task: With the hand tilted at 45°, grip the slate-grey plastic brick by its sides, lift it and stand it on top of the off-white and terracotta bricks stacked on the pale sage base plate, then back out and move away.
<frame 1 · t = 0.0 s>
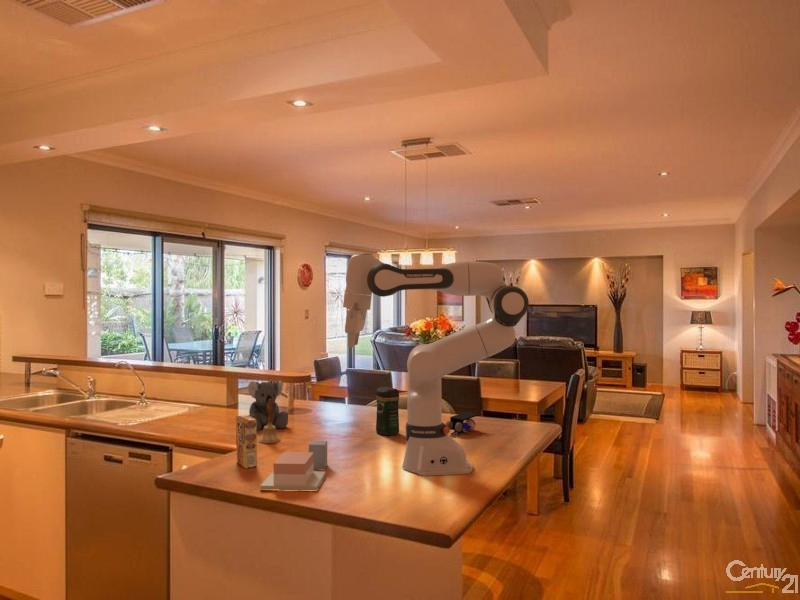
hand: (352, 345, 185), 39 cm above the counter, tool pointing down, fingers open, 8 cm apart
slate brick: (318, 467, 183), on the counter
candy box: (246, 465, 186), on the counter
koala plush: (264, 426, 243), on the counter
hand bell: (269, 441, 217), on the counter
coffee jar: (387, 433, 229), on the counter
figurine character: (462, 433, 231), on the counter
brick tower base: (294, 483, 167), on the counter
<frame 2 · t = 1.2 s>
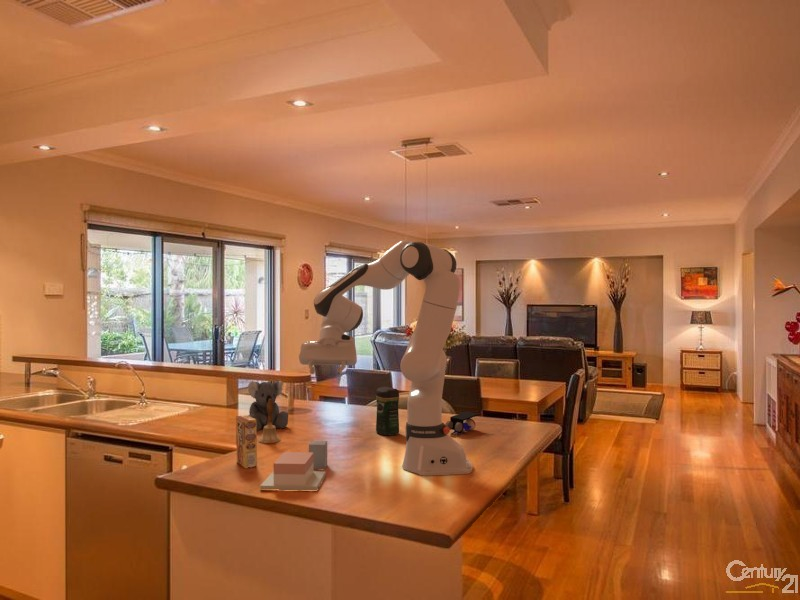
hand: (325, 373, 197), 29 cm above the counter, tool tilted 45°, fingers open, 8 cm apart
nothing on the counter moved.
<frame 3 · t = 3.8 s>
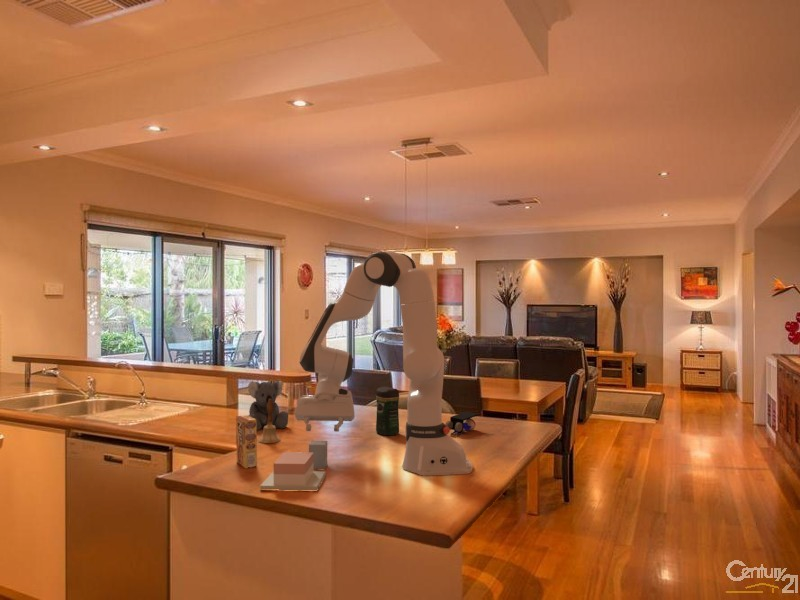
hand: (322, 430, 190), 10 cm above the counter, tool tilted 45°, fingers open, 8 cm apart
nothing on the counter moved.
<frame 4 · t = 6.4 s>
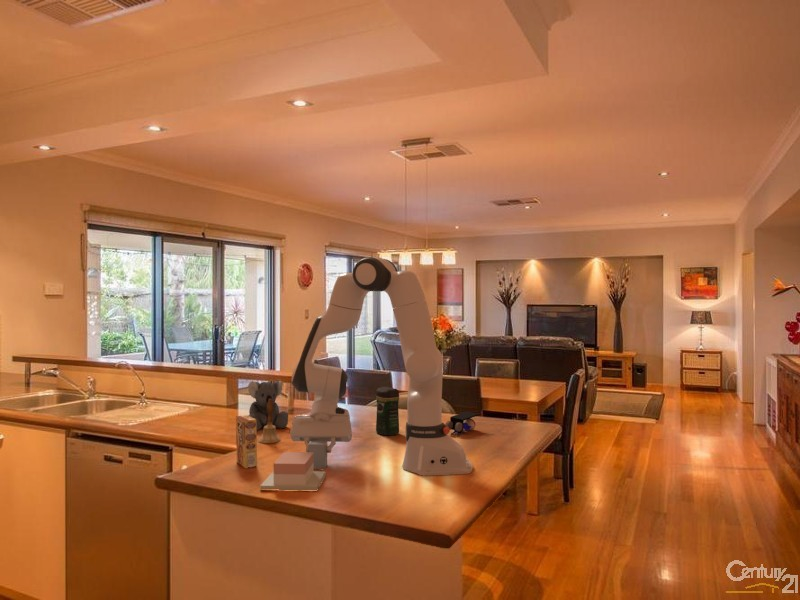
hand: (318, 451, 184), 5 cm above the counter, tool tilted 45°, fingers closed on slate brick, 5 cm apart
slate brick: (318, 467, 183), on the counter, touching gripper
everything else where it was.
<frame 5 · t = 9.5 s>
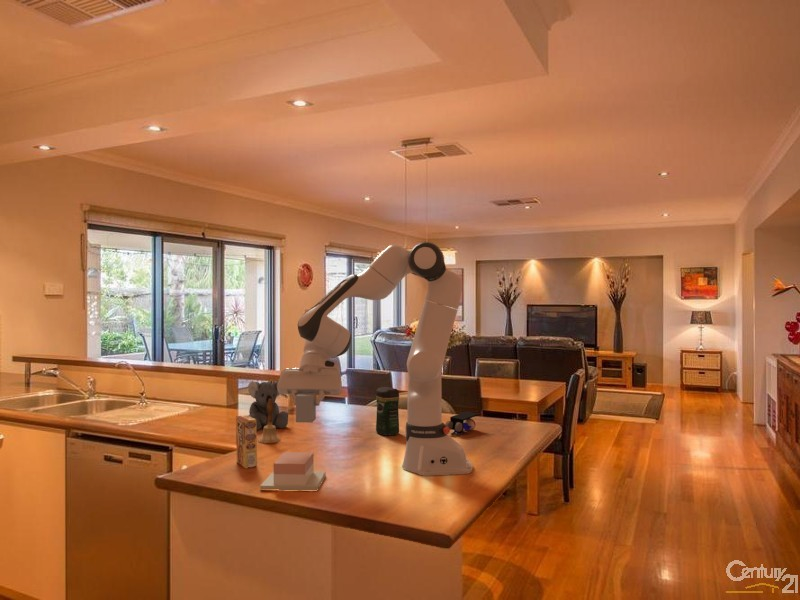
hand: (306, 404, 176), 21 cm above the counter, tool tilted 45°, fingers closed on slate brick, 5 cm apart
slate brick: (305, 420, 176), point 17 cm above the counter, touching gripper
everything else where it was.
when the fingers open (13 cm above the counter, at t = 12.8 s): slate brick stays where it is, resting on brick tower base.
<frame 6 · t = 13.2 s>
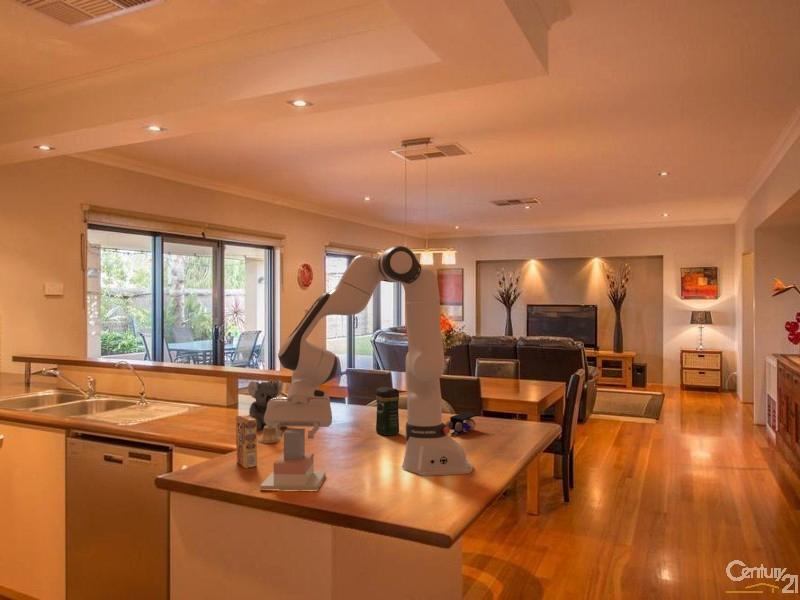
hand: (294, 437, 168), 13 cm above the counter, tool tilted 45°, fingers open, 8 cm apart
slate brick: (294, 457, 168), point 7 cm above the counter, touching brick tower base
everything else where it was.
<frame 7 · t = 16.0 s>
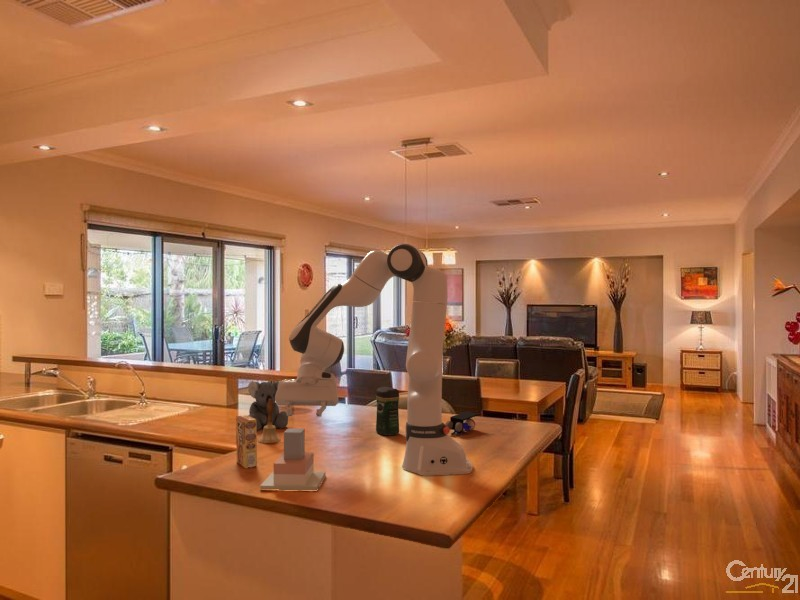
hand: (303, 415, 180), 17 cm above the counter, tool tilted 45°, fingers open, 8 cm apart
nothing on the counter moved.
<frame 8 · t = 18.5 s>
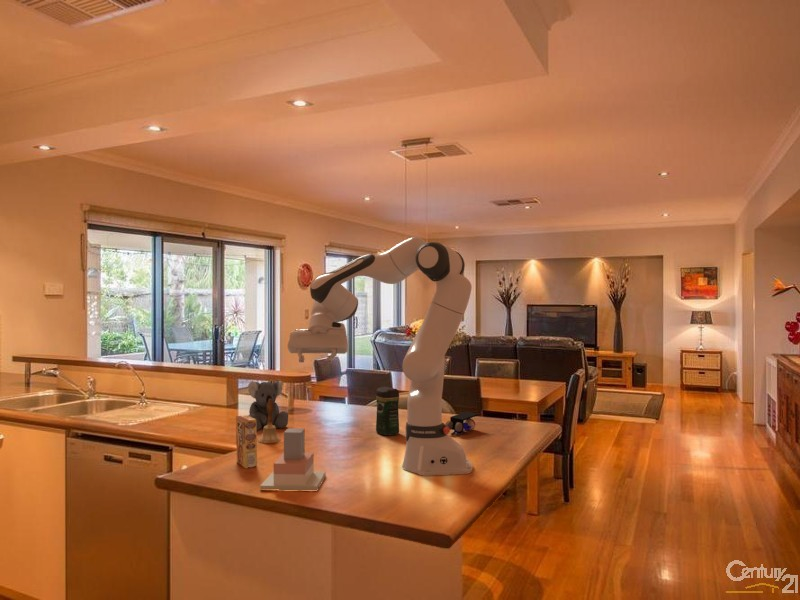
hand: (315, 361, 189), 33 cm above the counter, tool tilted 45°, fingers open, 8 cm apart
nothing on the counter moved.
at the end: slate brick 0.0 cm off-centre on the brick tower base, point 7.5 cm above the brick tower base's base; slate brick tilted 0°; the gripper is holding nothing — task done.
